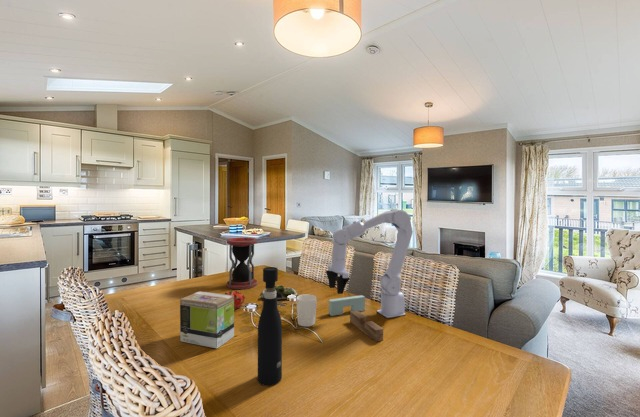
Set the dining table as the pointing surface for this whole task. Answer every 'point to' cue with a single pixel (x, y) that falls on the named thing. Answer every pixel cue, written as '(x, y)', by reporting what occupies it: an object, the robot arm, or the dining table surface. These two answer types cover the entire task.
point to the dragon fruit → (237, 298)
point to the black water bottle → (270, 333)
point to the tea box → (207, 319)
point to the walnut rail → (366, 326)
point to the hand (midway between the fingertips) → (335, 290)
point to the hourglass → (241, 263)
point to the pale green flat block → (346, 304)
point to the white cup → (306, 309)
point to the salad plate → (282, 292)
